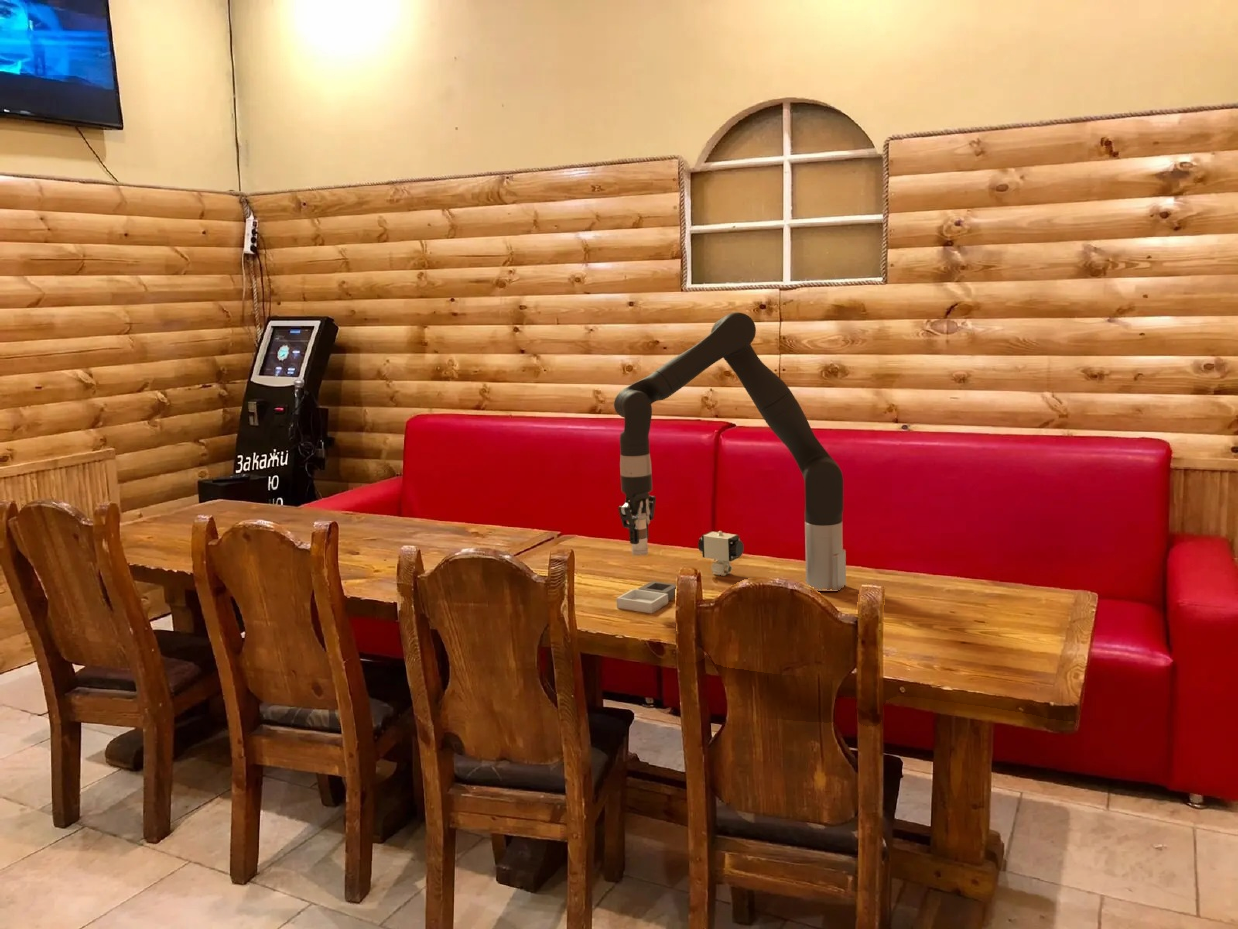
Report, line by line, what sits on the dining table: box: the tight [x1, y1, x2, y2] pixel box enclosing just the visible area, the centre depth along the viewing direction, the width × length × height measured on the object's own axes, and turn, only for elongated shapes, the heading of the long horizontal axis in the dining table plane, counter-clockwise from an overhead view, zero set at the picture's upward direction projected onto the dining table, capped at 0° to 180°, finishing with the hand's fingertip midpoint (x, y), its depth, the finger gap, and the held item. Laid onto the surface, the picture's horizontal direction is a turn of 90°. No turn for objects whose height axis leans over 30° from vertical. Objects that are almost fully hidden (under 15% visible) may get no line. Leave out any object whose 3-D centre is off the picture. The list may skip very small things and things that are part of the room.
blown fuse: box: [631, 512, 649, 556], centre depth 231 cm, size 4×4×10 cm
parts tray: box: [615, 588, 669, 614], centre depth 234 cm, size 10×8×2 cm
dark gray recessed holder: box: [637, 580, 676, 602], centre depth 240 cm, size 8×7×2 cm
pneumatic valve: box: [697, 530, 744, 577], centre depth 255 cm, size 6×12×12 cm, turn 53°
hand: (639, 541), depth 231 cm, fingers closed on blown fuse, 4 cm apart
